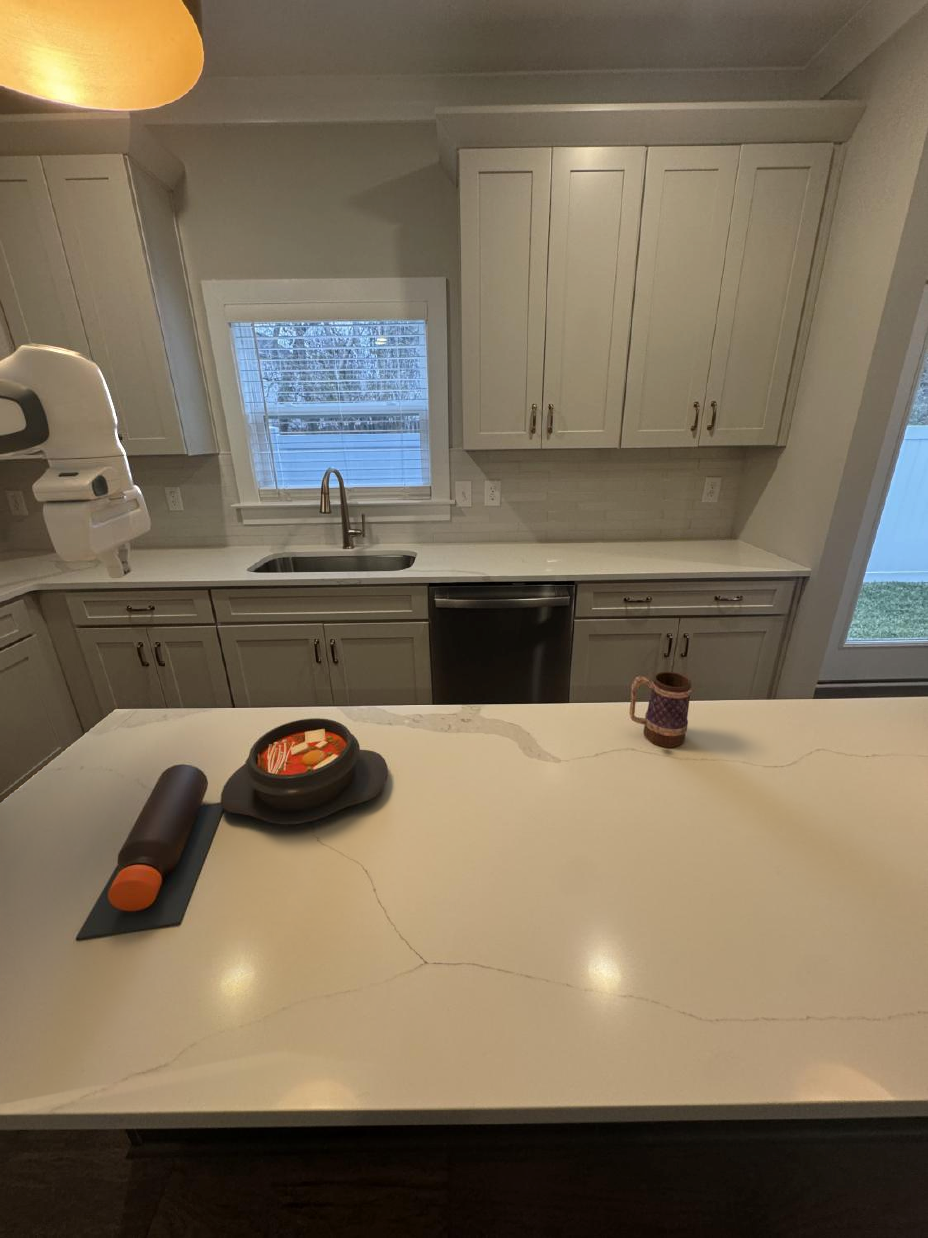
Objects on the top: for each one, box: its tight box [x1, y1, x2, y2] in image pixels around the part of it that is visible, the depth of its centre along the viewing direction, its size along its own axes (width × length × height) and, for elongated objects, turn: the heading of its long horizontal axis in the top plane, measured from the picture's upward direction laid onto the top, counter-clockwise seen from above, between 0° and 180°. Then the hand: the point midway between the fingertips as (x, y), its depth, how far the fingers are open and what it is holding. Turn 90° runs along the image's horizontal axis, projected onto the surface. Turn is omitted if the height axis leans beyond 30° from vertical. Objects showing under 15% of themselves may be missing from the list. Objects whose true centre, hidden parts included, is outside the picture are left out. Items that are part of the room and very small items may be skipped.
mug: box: [628, 671, 692, 748], centre depth 89 cm, size 10×7×12 cm
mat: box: [75, 801, 225, 941], centre depth 67 cm, size 11×20×1 cm, turn 9°
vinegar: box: [108, 763, 209, 911], centre depth 67 cm, size 7×7×20 cm
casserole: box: [220, 717, 389, 825], centre depth 78 cm, size 25×19×8 cm
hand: (121, 575), depth 75 cm, fingers closed
